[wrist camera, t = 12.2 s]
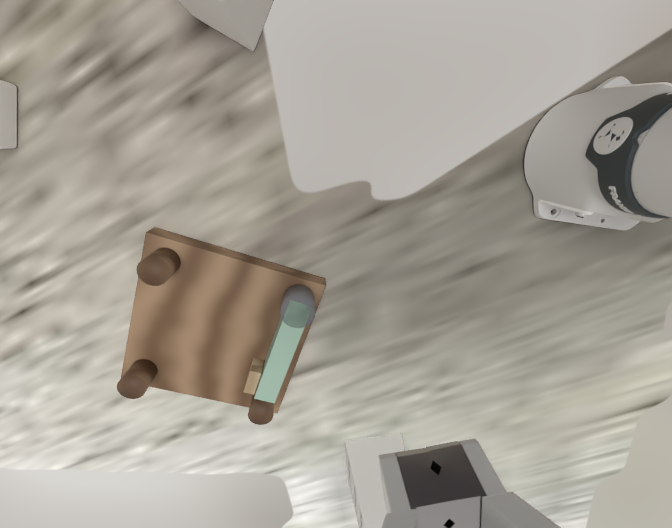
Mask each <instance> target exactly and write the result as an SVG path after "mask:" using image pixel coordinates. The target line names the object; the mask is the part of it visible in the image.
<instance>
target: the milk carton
mask: <svg viewBox="0 0 672 528" xmlns="http://www.w3.org/2000/svg"><path fill="white" fill-rule="evenodd" d="M178 1H179V2H180V3H181V4H182V5H183V6H184V7H185V8H186V9H187V10H188V11H189V12H190V14H191V15H192V16H194V17H195V18H197V19H199V20H200V21H202V22H204V23H205V24H207V25H209V26H211V27H212V28H214V29H216V30H217V31H219V32H221V33H222V34H224V35H226V36H227V37H229V38H231V39H232V40H234V41H236V42H238V43H239V44H241V45H243V46H244V47H246V48H248V49H249V50H251V51H254V50H255V48H256V45H257V43H258V40H259V37H260V35H261V32H262V29H263V27H264V24H265V22H266V19H267V16H268V13H269V11H270V9H271V6H272V3H273V1H274V0H178Z"/></svg>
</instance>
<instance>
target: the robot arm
mask: <svg viewBox="0 0 672 528" xmlns="http://www.w3.org/2000/svg"><path fill="white" fill-rule="evenodd" d="M524 171H525V177H526V180H527V183H528V185H529V187H530V189H531V192H532V194H533V197H534V199H533V206H534V214H535V216H536V217H538V218H542V219H548V220H554V221H561V222H568V223H575V224H582V225H588V226H595V227H602V228H609V229H616V230H624V231H625V230H629V229H631V228H632V227H634V226H635V225H637V224H638V223H639V222H640V221H645V222H651V223H655V222H658V221H661V220H663V219H665V218H672V84H671V83H668V82H659V83H646V84H634V85H633V84H632V83H630V82H629V81H628V80H627V79H626V78H625V77H622V76H618V77H612V78H609V79H607V80H606V81H604V82H603V83H601V84H600V85H599V86H597V87H596V88H595V89H593V90H591V91H588V92H584V93H580V94H577V95H574V96H571V97H569V98H567V99H565V100H563V101H561V102H560V103H558V104H557V105H555V106H554V107H553V108H552V109H551V110H549V111H548V112H547V113H546V115H545V116H544V117H543V118H542V119H541V120H540V122H539V123H538V125H537V126H536V128H535V129H534V131H533V133H532V135H531V137H530V139H529V142H528V145H527V148H526V153H525V159H524ZM552 209H553V212H552V213H551V210H552ZM378 458H379V466H380V474H381V482H382V488H383V494H384V500H385V505H386V509H387V514H386V516H385V519H384V522H383V525H382V528H561V527H559V526H558V525H556V524H555V523H554V522H552V521H551V520H550V519H548V518H547V517H546V516H544V515H543V514H542V513H540V512H539V511H538V510H536V509H535V508H534V507H532V506H531V505H529V504H528V503H527V502H525V501H524V500H523V499H521V498H520V497H519V496H517V495H516V494H515V493H513V492H506V490H505V488H504V486H503V485H502V483H501V481H500V479H499V478H498V476H497V474H496V472H495V470H494V469H493V467H492V465H491V463H490V462H489V460H488V458H487V456H486V455H485V453H484V451H483V449H482V448H481V446H480V444H479V442H478V441H477V440H476V439H469V440H464V441H459V442H458V441H455V442H450V443H445V444H440V445H434V446H429V447H426V448H422V449H415V450H408V451H401V452H394V453H388V454H382V455H379V456H378Z"/></svg>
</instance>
